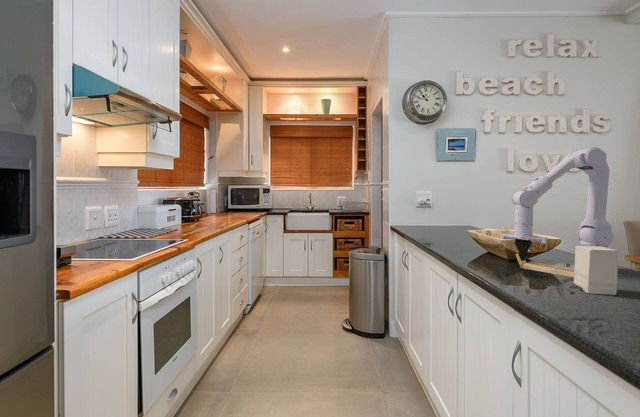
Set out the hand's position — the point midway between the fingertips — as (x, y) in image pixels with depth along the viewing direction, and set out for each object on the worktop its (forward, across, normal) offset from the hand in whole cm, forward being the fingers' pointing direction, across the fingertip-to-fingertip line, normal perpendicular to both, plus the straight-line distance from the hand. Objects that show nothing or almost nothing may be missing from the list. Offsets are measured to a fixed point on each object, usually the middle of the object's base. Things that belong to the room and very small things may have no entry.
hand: (522, 260), depth 120 cm
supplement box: (+4, +23, -12) cm, 26 cm away
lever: (+2, +1, 0) cm, 2 cm away
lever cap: (+1, +13, 0) cm, 13 cm away
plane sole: (+3, +9, 0) cm, 10 cm away
